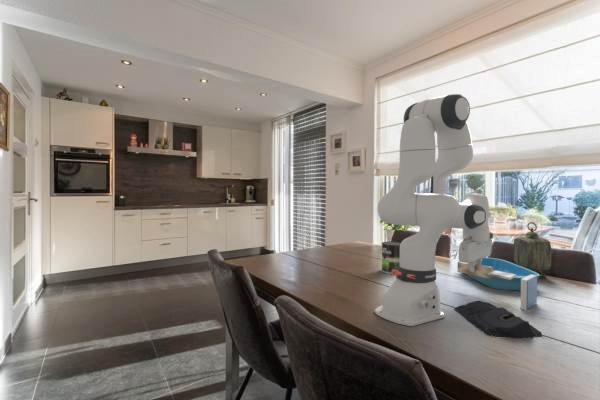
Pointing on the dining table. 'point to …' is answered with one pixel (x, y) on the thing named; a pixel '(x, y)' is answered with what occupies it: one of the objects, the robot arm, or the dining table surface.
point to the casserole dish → (508, 268)
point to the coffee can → (390, 256)
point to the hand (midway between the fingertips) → (475, 270)
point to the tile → (528, 291)
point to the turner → (484, 271)
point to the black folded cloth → (496, 320)
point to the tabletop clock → (532, 251)
